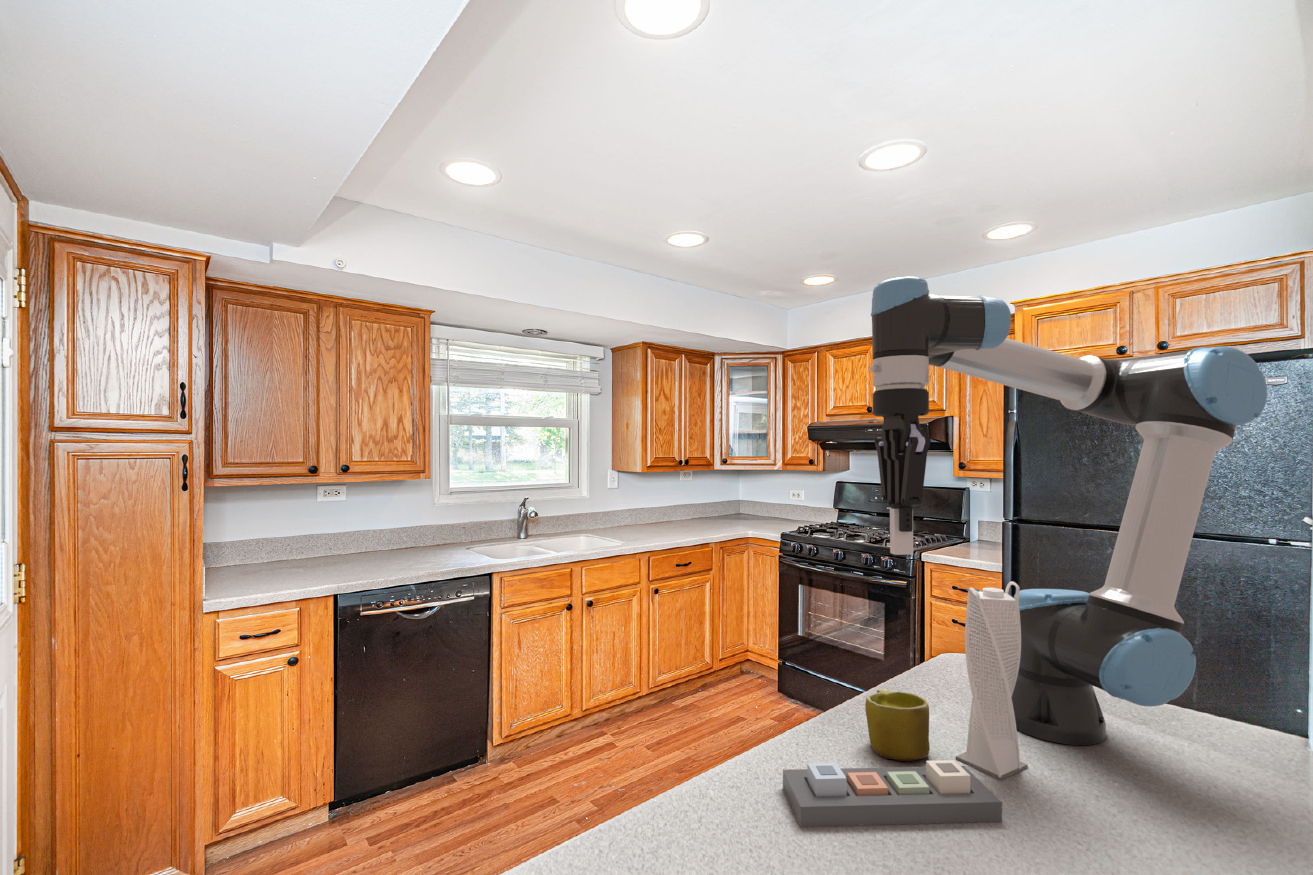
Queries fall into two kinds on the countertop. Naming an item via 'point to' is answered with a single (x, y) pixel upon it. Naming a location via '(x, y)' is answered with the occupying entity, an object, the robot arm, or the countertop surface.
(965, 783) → the key ivory
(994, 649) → the skyscraper
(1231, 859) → the countertop surface
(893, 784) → the key sage
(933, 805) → the keyguard frame
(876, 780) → the key terracotta
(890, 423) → the robot arm
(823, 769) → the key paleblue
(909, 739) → the mug
